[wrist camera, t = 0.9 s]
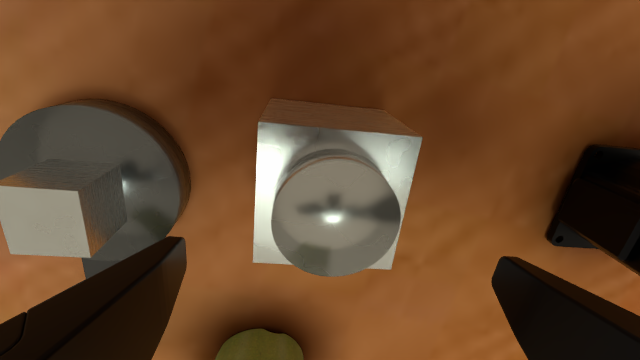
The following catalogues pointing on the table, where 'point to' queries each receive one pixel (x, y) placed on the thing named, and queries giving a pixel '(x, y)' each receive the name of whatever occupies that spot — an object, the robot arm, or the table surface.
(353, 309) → the table surface
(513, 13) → the table surface
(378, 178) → the block with round boss
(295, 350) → the plant pot
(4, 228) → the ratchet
